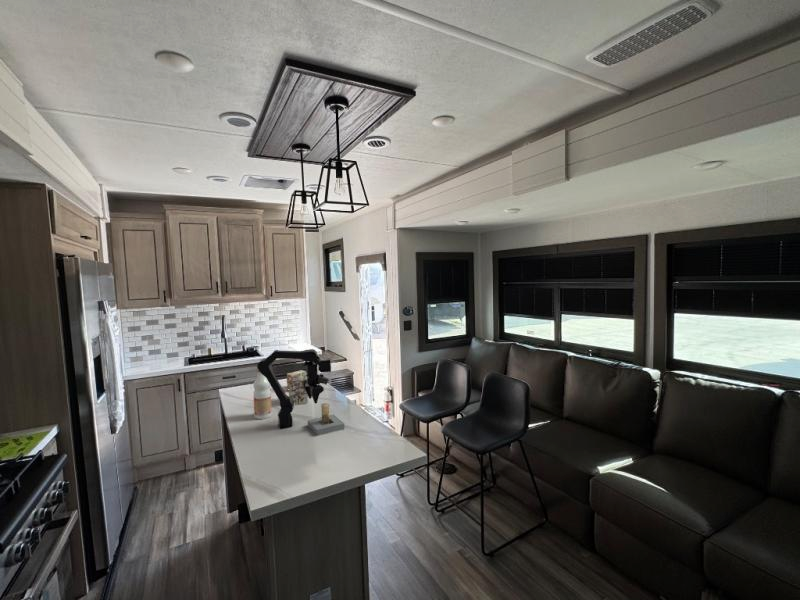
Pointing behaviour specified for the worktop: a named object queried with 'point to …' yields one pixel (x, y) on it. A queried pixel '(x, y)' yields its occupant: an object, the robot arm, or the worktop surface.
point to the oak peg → (325, 413)
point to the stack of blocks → (293, 375)
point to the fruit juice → (262, 397)
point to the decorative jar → (297, 389)
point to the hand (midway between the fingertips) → (313, 400)
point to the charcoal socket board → (322, 429)
